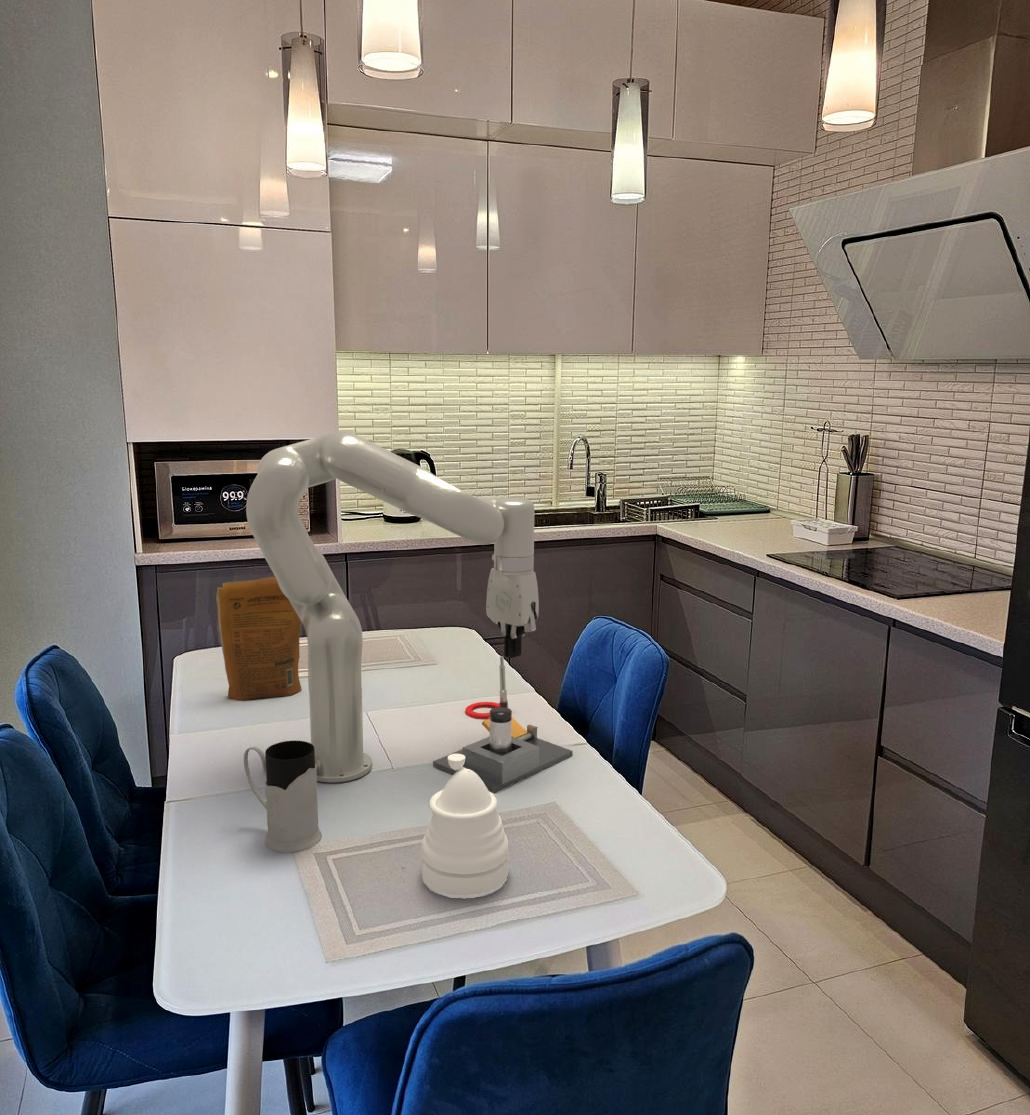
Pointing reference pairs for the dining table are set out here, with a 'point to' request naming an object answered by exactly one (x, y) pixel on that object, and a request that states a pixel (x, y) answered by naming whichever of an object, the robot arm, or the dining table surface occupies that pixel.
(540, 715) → the dining table surface
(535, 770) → the plate
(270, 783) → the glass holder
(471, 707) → the tow hook
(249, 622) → the pancake mix bag
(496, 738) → the pin
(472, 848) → the honey pot
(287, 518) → the robot arm
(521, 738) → the tab
